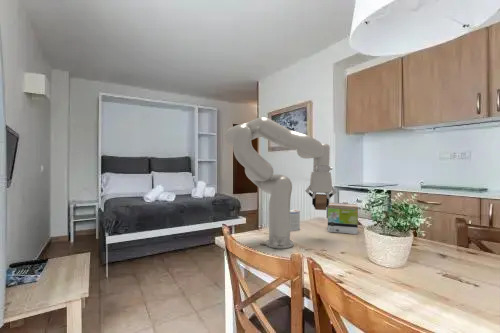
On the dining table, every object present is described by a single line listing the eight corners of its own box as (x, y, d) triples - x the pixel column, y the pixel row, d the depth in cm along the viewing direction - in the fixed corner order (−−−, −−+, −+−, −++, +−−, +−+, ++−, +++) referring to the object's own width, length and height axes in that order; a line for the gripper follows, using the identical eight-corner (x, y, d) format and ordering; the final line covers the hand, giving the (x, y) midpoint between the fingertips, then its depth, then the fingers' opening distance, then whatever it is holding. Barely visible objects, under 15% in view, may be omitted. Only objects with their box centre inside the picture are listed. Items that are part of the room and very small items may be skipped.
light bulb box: (279, 227, 151) (279, 208, 151) (289, 225, 154) (289, 207, 154) (290, 231, 141) (290, 211, 141) (300, 230, 144) (300, 210, 144)
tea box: (327, 232, 139) (327, 204, 139) (327, 227, 149) (327, 202, 149) (358, 234, 135) (358, 206, 135) (356, 229, 144) (356, 203, 144)
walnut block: (326, 210, 125) (326, 195, 125) (315, 209, 125) (315, 195, 125) (324, 208, 130) (325, 194, 130) (314, 208, 130) (314, 193, 130)
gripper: (337, 169, 130) (337, 206, 130) (302, 168, 132) (302, 204, 132) (341, 169, 122) (340, 208, 122) (303, 168, 125) (303, 207, 125)
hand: (320, 206), depth 127 cm, fingers closed on walnut block, 5 cm apart
